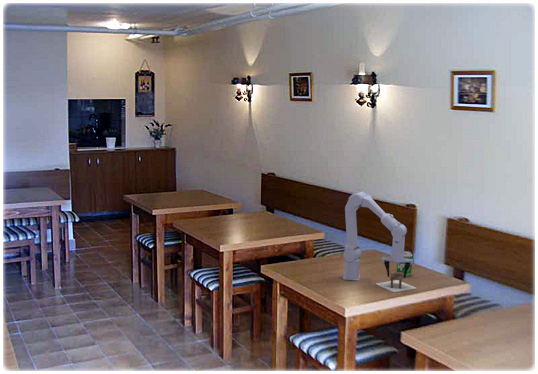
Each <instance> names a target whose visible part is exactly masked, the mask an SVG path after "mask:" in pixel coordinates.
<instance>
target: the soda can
mask: <svg viewBox="0 0 538 374" xmlns="http://www.w3.org/2000/svg"><path fill="white" fill-rule="evenodd" d="M413 255H414V254H412V252H411V251H409V250H408V251H407V250H404V258H406V259H413ZM412 268H413V264H410V267H409V269H408V271H407V273H406V277H410V276H411V275H412ZM404 271H405V263H396V272H402V277H404ZM409 275H410V276H409Z"/></svg>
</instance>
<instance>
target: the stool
mask: <svg viewBox="0 0 538 374" xmlns="http://www.w3.org/2000/svg"><path fill="white" fill-rule="evenodd" d="M389 277H390V280H389V281H391V288H393V281H395V280H399V289H401V283H402V282H403V279H404V276H402V272H397V271H390V276H389Z"/></svg>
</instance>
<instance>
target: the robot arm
mask: <svg viewBox="0 0 538 374" xmlns="http://www.w3.org/2000/svg"><path fill="white" fill-rule="evenodd" d="M360 207H361V208H368V209H369V210H370V211H372V212H373V213H374V214H375V215H376V216H377V217H379V218H380V222H381V223H382V225H384V226H385V227H386V228H387V229H388V230H389V232H390V233H391V235H392V244H391V246H392V247H391V256H382V257H381V262H382V263H383V265H384V267H385V269H386V273H387V278H389V277H390V263H396V264H397V263H405V271H404V276H403V279H406V277H407V276H406V273H407V271H408V269H409V267H410V264H412V265H413V264H414V259H413V258H412V259H406V258H404V251H405V242H406V241H405V240H406V234H407V233H408V229H407V226H406V225H404V224H403V223H401V222H400V221H398V220H397V219H395V218H394V215H393V214H390V213H386V212H385V211H384V210H383V209H382V208H381V207H380V206H379V205H378V204H377V203H376V201H375V200H374V199H373V197H372V196H371V195H370V194H369V193H367V192H366V191H361V190H360V191H359V192H357V193H352V194H351V195H350V196H349V197H348V200H347V202H346V205H345V207H344V212H345V213H344V215H345V232H346V233H345V235H346V244H345V246H344V251H343V253H342V255H343V259H344V274H343V277H342V280H345V281H346V280H347V281H356V282H358V281H360V278H361V274H360V262H361V260H360V258H361V257H362V255H363V251H362V249H361V244H360V243H359V241H358V225H357V223H358V222H357V211H358V209H359V208H360Z"/></svg>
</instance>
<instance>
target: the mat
mask: <svg viewBox="0 0 538 374" xmlns="http://www.w3.org/2000/svg"><path fill="white" fill-rule="evenodd" d="M375 286H378V287H380V288H383V289H384V290H388V291H389V292H391V293H400V292H407V291H412V289H413V290H417V287H415V286H412V285H411V284H408V283H406V282H404V281H402V283H401V289H399V280H393V288H391V280H389V281H383V282H375Z"/></svg>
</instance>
